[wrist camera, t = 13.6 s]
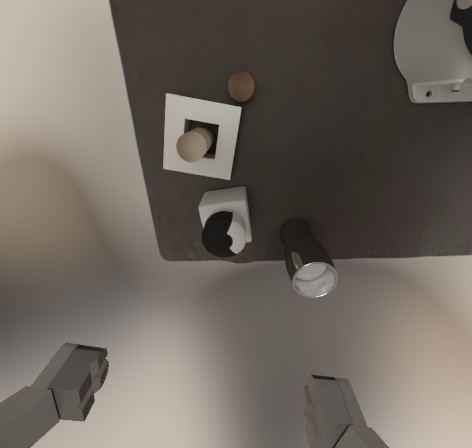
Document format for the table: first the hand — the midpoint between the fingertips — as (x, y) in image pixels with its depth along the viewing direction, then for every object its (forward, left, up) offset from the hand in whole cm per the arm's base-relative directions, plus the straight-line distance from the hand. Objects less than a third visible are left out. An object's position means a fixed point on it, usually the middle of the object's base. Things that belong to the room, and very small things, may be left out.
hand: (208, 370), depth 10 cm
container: (0, +8, -37) cm, 38 cm away
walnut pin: (+1, -12, -37) cm, 39 cm away
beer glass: (-14, +11, -37) cm, 41 cm away
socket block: (+6, -4, -37) cm, 38 cm away
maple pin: (+6, -4, -37) cm, 38 cm away
